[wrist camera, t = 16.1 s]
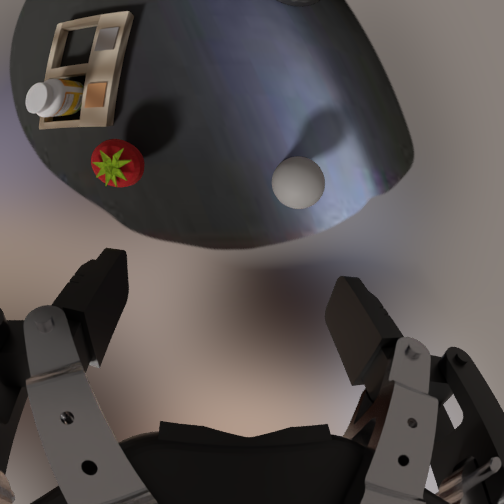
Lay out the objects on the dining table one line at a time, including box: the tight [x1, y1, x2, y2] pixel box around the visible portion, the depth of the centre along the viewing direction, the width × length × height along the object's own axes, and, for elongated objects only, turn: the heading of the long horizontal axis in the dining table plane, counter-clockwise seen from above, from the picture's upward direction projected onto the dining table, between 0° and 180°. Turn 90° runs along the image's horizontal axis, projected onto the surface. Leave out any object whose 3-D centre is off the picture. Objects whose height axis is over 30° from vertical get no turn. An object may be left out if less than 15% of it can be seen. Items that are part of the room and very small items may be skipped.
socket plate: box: [39, 11, 134, 129], centre depth 26 cm, size 18×12×3 cm
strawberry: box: [91, 139, 144, 187], centre depth 30 cm, size 6×8×10 cm
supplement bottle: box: [26, 79, 84, 117], centre depth 25 cm, size 5×5×10 cm
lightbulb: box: [272, 156, 325, 209], centre depth 33 cm, size 6×6×11 cm
